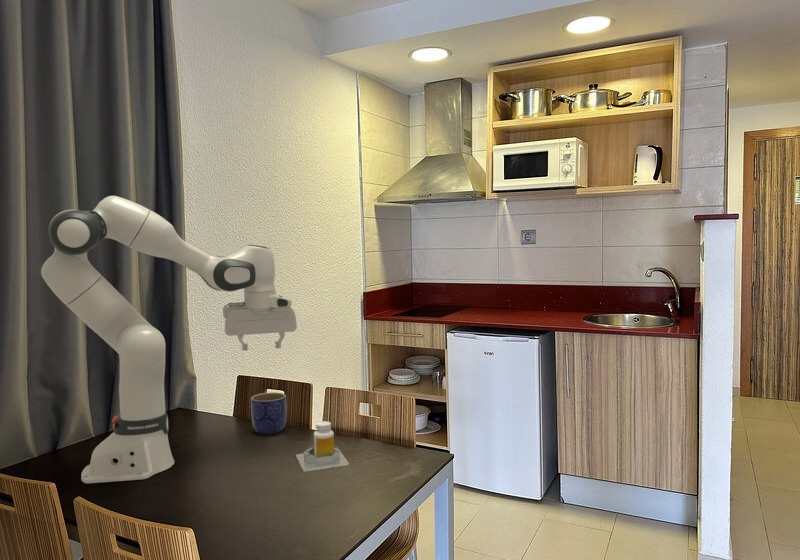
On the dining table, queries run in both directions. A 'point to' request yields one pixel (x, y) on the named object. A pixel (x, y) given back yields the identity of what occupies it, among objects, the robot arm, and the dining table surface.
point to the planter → (268, 412)
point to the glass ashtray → (321, 460)
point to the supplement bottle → (323, 439)
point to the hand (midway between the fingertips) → (261, 348)
